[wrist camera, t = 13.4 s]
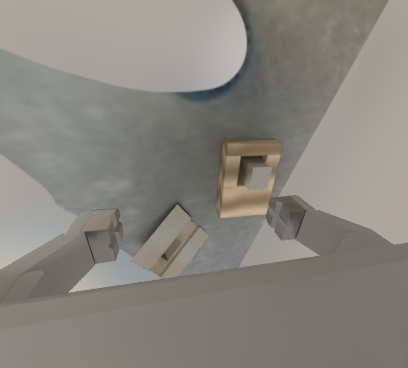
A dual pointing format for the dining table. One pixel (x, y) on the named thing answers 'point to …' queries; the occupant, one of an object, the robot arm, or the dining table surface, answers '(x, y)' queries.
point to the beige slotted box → (171, 245)
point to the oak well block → (230, 183)
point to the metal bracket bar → (254, 173)
